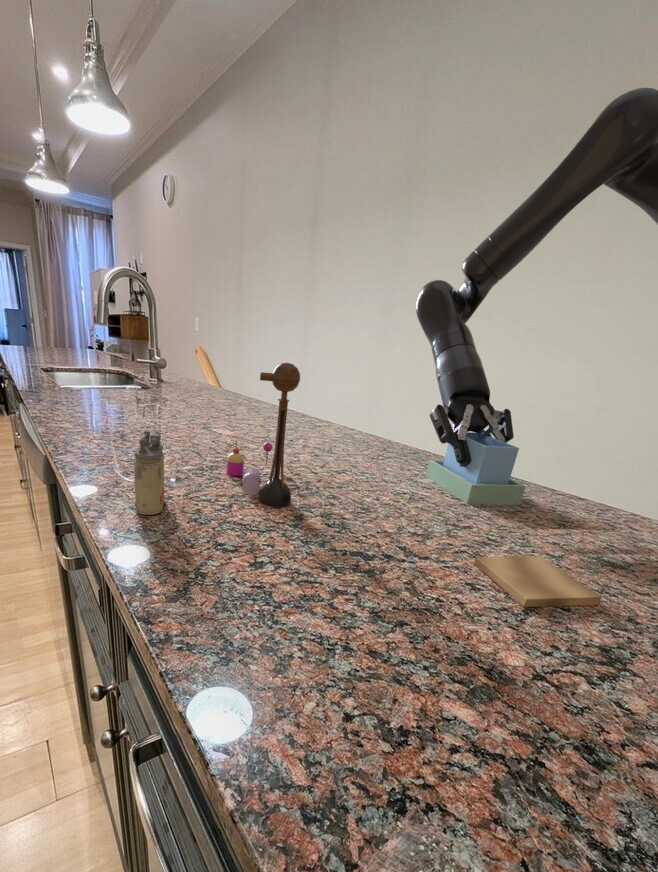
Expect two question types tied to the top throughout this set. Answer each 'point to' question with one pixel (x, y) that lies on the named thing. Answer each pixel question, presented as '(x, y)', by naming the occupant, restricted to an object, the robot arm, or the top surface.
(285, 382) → the wooden tabletop sculpture
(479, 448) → the top bin
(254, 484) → the candy
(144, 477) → the beige upright cylinder
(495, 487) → the bottom bin
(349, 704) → the top surface
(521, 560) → the cork mat
